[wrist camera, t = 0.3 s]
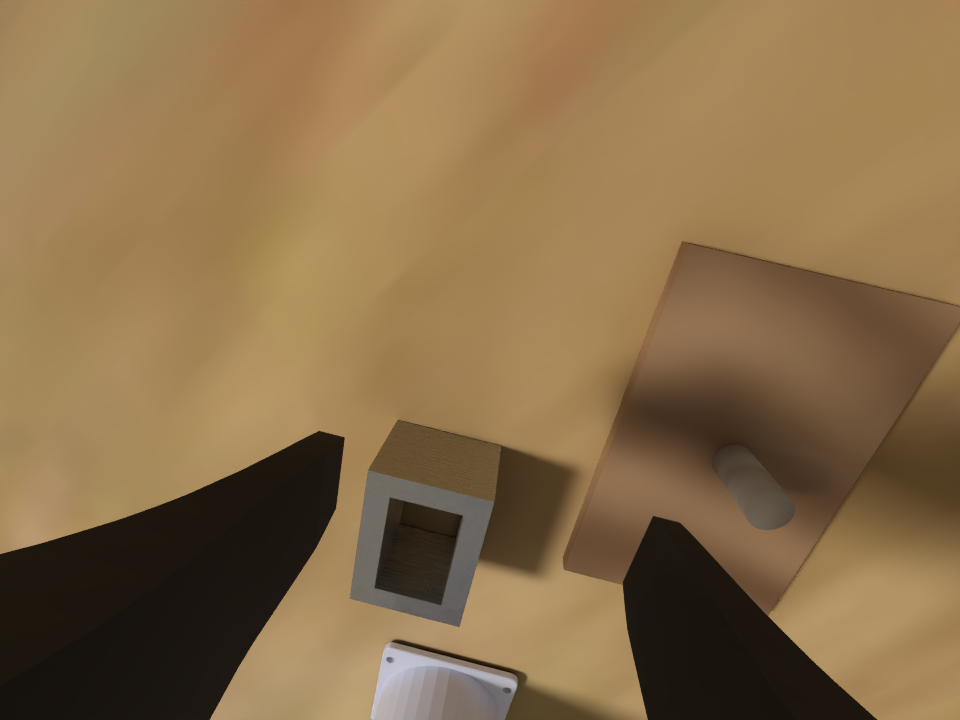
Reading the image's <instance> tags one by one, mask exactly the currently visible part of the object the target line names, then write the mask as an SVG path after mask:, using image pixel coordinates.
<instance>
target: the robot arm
mask: <svg viewBox="0 0 960 720" xmlns="http://www.w3.org/2000/svg"><path fill="white" fill-rule="evenodd" d="M344 439H345V437H341V436H337V435H333V434H329V433H325V432H321V431H318V432H316V433H314V434H312V435H310V436H308V437H306V438H304V439H302V440H300V441H298V442H296V443H294V444H292V445H291V446H289V447H287V448H285V449H283V450H281V451H279V452H277V453H275V454H273V455H271V456H269V457H267V458H265V459H263V460H261V461H259V462H257V463H255V464H253V465H251V466H249V467H247V468H245V469H243V470H241V471H239V472H237V473H234V474H232V475H230V476H228V477H225V478H223V479H221V480H219V481H216V482H214V483H212V484H210V485H207V486H205V487H203V488H201V489H199V490H196V491H194V492H192V493H189V494H187V495H185V496H182V497H180V498H177V499H175V500H172V501H169V502H167V503H164V504H162V505H159V506H156V507H154V508H151V509H148V510H145V511H142V512H140V513H137V514H134V515H131V516H129V517H126V518H123V519H120V520H117V521H114V522H111V523H107V524H104V525H101V526H97V527H94V528H91V529H88V530H84V531H81V532H78V533H74V534H71V535H68V536H65V537H61V538H58V539H55V540H51V541H48V542H45V543H41V544H37V545H34V546H30V547H26V548H22V549H18V550H15V551H11V552H7V553H3V554H0V720H210V718H211V716H212V714H213V713H214V711H215V709H216V707H217V705H218V703H219V702H220V700H221V698H222V696H223V694H224V692H225V691H226V689H227V687H228V685H229V683H230V682H231V680H232V678H233V676H234V674H235V672H236V671H237V669H238V667H239V665H240V664H241V662H242V660H243V659H244V657H245V655H246V654H247V652H248V651H249V649H250V647H251V646H252V644H253V642H254V641H255V639H256V638H257V636H258V635H259V633H260V632H261V630H262V629H263V627H264V626H265V624H266V623H267V621H268V620H269V618H270V617H271V615H272V614H273V612H274V611H275V609H276V608H277V606H278V605H279V603H280V602H281V600H282V599H283V597H284V596H285V594H286V593H287V591H288V590H289V588H290V587H291V585H292V584H293V582H294V581H295V579H296V578H297V576H298V575H299V573H300V572H301V570H302V569H303V567H304V566H305V564H306V563H307V561H308V559H309V558H310V556H311V555H312V553H313V552H314V550H315V549H316V547H317V545H318V543H319V541H320V539H321V537H322V535H323V533H324V531H325V529H326V527H327V525H328V523H329V521H330V519H331V517H332V515H333V513H334V511H335V509H336V504H337V496H338V488H339V480H340V472H341V463H342V455H343V447H344ZM623 591H624V603H625V612H626V621H627V629H628V634H629V639H630V643H631V648H632V652H633V657H634V661H635V666H636V670H637V675H638V679H639V683H640V688H641V692H642V696H643V701H644V705H645V709H646V714H647V718H648V720H877V719H876V718H875V717H873V716H872V715H871V714H870V713H869V712H868V711H867V710H866V709H865V708H863V707H862V706H861V705H860V704H859V703H858V702H857V701H856V700H855V699H853V698H852V697H851V696H850V695H849V694H848V693H847V692H846V691H845V690H843V689H842V688H841V687H840V686H839V685H838V684H837V683H836V682H835V681H833V680H832V679H831V678H830V677H829V676H828V675H827V674H826V673H825V672H824V671H823V670H822V669H821V668H820V667H818V666H817V665H816V664H815V663H814V662H813V661H812V660H811V659H810V658H809V657H808V656H807V655H806V654H805V653H804V652H803V651H802V650H801V649H800V648H799V647H798V646H797V645H796V644H795V643H794V642H793V641H792V640H791V639H790V638H789V637H788V636H787V635H786V634H785V633H784V632H783V631H782V630H781V629H780V628H779V627H778V626H777V625H776V624H775V623H774V622H773V621H772V620H771V619H770V618H769V617H768V616H767V615H766V614H765V613H764V612H763V610H762V609H761V608H760V607H759V606H758V605H757V604H756V603H755V602H754V601H753V600H752V599H751V598H750V597H749V596H748V595H747V593H746V592H745V591H744V590H743V589H742V588H741V587H740V586H739V585H738V584H737V583H736V582H735V580H734V579H733V578H732V577H731V576H730V575H729V574H728V573H727V572H726V571H725V570H724V568H723V567H722V566H721V565H720V564H719V563H718V562H717V561H716V560H715V559H714V558H713V556H712V555H711V554H710V553H709V552H708V551H707V550H706V549H705V548H704V547H703V546H702V545H701V543H700V542H699V541H698V540H697V539H696V538H695V537H694V536H693V535H692V534H691V533H690V532H689V531H688V530H687V529H686V528H685V527H684V526H683V525H682V524H681V523H680V522H676V521H672V520H668V519H664V518H660V517H656V516H653V517H652V519H651V521H650V524H649V526H648V528H647V530H646V532H645V534H644V537H643V539H642V541H641V543H640V545H639V548H638V550H637V552H636V554H635V556H634V559H633V561H632V563H631V565H630V567H629V569H628V572H627V574H626V576H625V578H624V580H623ZM517 686H518V678H517V676H515V675H514V674H512V673H509V672H505V671H501V670H497V669H494V668H490V667H486V666H482V665H478V664H474V663H471V662H467V661H463V660H459V659H455V658H451V657H448V656H444V655H440V654H436V653H432V652H428V651H425V650H421V649H417V648H413V647H409V646H405V645H402V644H398V643H393V642H391V643H388V644H386V646H385V648H384V651H383V656H382V662H381V667H380V672H379V677H378V682H377V687H376V692H375V697H374V703H373V708H372V713H371V718H370V720H505V718H506V715H507V713H508V710H509V707H510V705H511V702H512V700H513V697H514V694H515V692H516V689H517Z"/></svg>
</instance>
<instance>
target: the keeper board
mask: <svg viewBox="0 0 960 720" xmlns="http://www.w3.org/2000/svg"><path fill="white" fill-rule="evenodd" d="M959 323H960V306H956V305H952V304H948V303H944V302H940V301H936V300H931V299H927V298H923V297H918V296H914V295H910V294H906V293H901V292H897V291H893V290H888V289H884V288H880V287H875V286H871V285H867V284H863V283H858V282H854V281H850V280H845V279H841V278H837V277H832V276H828V275H824V274H820V273H815V272H811V271H807V270H802V269H798V268H794V267H790V266H785V265H781V264H777V263H772V262H768V261H764V260H759V259H755V258H751V257H747V256H742V255H738V254H734V253H729V252H725V251H721V250H717V249H712V248H708V247H704V246H699V245H695V244H691V243H686V242H682V243H681V246H680V248H679V251H678V254H677V256H676V259H675V262H674V264H673V267H672V270H671V272H670V275H669V278H668V280H667V283H666V286H665V288H664V291H663V293H662V296H661V299H660V301H659V304H658V307H657V309H656V312H655V315H654V317H653V320H652V323H651V325H650V328H649V331H648V333H647V336H646V338H645V341H644V344H643V346H642V349H641V352H640V354H639V357H638V360H637V362H636V365H635V368H634V370H633V373H632V376H631V378H630V381H629V384H628V386H627V389H626V391H625V394H624V397H623V399H622V402H621V405H620V407H619V410H618V413H617V415H616V418H615V421H614V423H613V426H612V429H611V431H610V434H609V436H608V439H607V442H606V444H605V447H604V450H603V452H602V455H601V458H600V460H599V463H598V466H597V468H596V471H595V474H594V476H593V479H592V482H591V484H590V487H589V489H588V492H587V495H586V497H585V500H584V503H583V505H582V508H581V511H580V513H579V516H578V519H577V521H576V524H575V527H574V529H573V532H572V534H571V537H570V540H569V542H568V545H567V548H566V550H565V553H564V556H563V565H564V570H567V571H571V572H574V573H578V574H582V575H586V576H590V577H594V578H598V579H602V580H606V581H610V582H614V583H618V584H622V585H623V580H624V578H625V576H626V574H627V572H628V569H629V567H630V565H631V563H632V561H633V559H634V556H635V554H636V552H637V550H638V548H639V545H640V543H641V541H642V539H643V537H644V534H645V532H646V530H647V528H648V526H649V524H650V521H651V519H652V517H653V516H656V517H660V518H664V519H668V520H672V521H676V522H680V523H681V524H682V525H683V526H684V527H685V528H686V529H687V530H688V531H689V532H690V533H691V534H692V535H693V536H694V537H695V538H696V539H697V540H698V541H699V542H700V543H701V545H702V546H703V547H704V548H705V549H706V550H707V551H708V552H709V553H710V554H711V555H712V556H713V558H714V559H715V560H716V561H717V562H718V563H719V564H720V565H721V566H722V567H723V568H724V570H725V571H726V572H727V573H728V574H729V575H730V576H731V577H732V578H733V579H734V580H735V582H736V583H737V584H738V585H739V586H740V587H741V588H742V589H743V590H744V591H745V592H746V593H747V595H748V596H749V597H750V598H751V599H752V600H753V601H754V602H755V603H756V604H757V605H758V606H759V607H760V608H761V609H762V610H763V612H764V613H765V614H766V615H767V616H768V615H769V614H770V612H771V611H772V609H773V608H774V606H775V604H776V603H777V601H778V600H779V598H780V597H781V595H782V594H783V592H784V591H785V589H786V588H787V586H788V585H789V583H790V582H791V580H792V578H793V577H794V575H795V574H796V572H797V571H798V569H799V568H800V566H801V565H802V563H803V562H804V560H805V559H806V557H807V555H808V554H809V552H810V551H811V549H812V548H813V546H814V545H815V543H816V542H817V540H818V539H819V537H820V536H821V534H822V533H823V531H824V529H825V528H826V526H827V525H828V523H829V522H830V520H831V519H832V517H833V516H834V514H835V513H836V511H837V510H838V508H839V507H840V505H841V503H842V502H843V500H844V499H845V497H846V496H847V494H848V493H849V491H850V490H851V488H852V487H853V485H854V484H855V482H856V481H857V479H858V477H859V476H860V474H861V473H862V471H863V470H864V468H865V467H866V465H867V464H868V462H869V461H870V459H871V458H872V456H873V454H874V453H875V451H876V450H877V448H878V447H879V445H880V444H881V442H882V441H883V439H884V438H885V436H886V435H887V433H888V432H889V430H890V428H891V427H892V425H893V424H894V422H895V421H896V419H897V418H898V416H899V415H900V413H901V412H902V410H903V409H904V407H905V406H906V404H907V402H908V401H909V399H910V398H911V396H912V395H913V393H914V392H915V390H916V389H917V387H918V386H919V384H920V383H921V381H922V380H923V378H924V376H925V375H926V373H927V372H928V370H929V369H930V367H931V366H932V364H933V363H934V361H935V360H936V358H937V357H938V355H939V353H940V352H941V350H942V349H943V347H944V346H945V344H946V343H947V341H948V340H949V338H950V337H951V335H952V334H953V332H954V331H955V329H956V327H957V326H958V324H959Z"/></svg>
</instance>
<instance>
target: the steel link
mask: <svg viewBox="0 0 960 720" xmlns="http://www.w3.org/2000/svg"><path fill="white" fill-rule="evenodd" d="M500 453H501V446H500V445H496V444H492V443H488V442H484V441H480V440H476V439H472V438H467V437H463V436H459V435H455V434H451V433H447V432H443V431H439V430H435V429H431V428H427V427H423V426H419V425H415V424H411V423H407V422H403V421H399V420H397V422H396V424H395V425H394V427H393V429H392V430H391V432H390V434H389V436H388V437H387V439H386V441H385V442H384V444H383V446H382V447H381V449H380V451H379V453H378V454H377V456H376V458H375V459H374V461H373V463H372V464H371V466H370V468H369V470H368V474H367V481H366V488H365V495H364V502H363V509H362V516H361V523H360V530H359V537H358V544H357V551H356V558H355V565H354V572H353V579H352V586H351V593H350V599H353V600H357V601H361V602H365V603H369V604H372V605H376V606H380V607H384V608H388V609H392V610H396V611H399V612H403V613H407V614H411V615H415V616H419V617H423V618H427V619H430V620H434V621H438V622H442V623H446V624H450V625H454V626H457V627H459V626H460V623H461V619H462V615H463V612H464V608H465V605H466V601H467V598H468V594H469V591H470V587H471V584H472V580H473V576H474V573H475V569H476V566H477V562H478V559H479V555H480V552H481V548H482V545H483V541H484V538H485V534H486V530H487V527H488V523H489V520H490V516H491V513H492V509H493V506H494V502H495V494H496V486H497V478H498V470H499V462H500ZM404 501H407V502H411V503H415V504H419V505H423V506H427V507H431V508H435V509H439V510H443V511H446V512H450V513H454V514H458V515H462V517H461V521H460V525H459V529H458V533H457V536H456V538H454V537H450V536H446V535H442V534H438V533H434V532H430V531H426V530H422V529H419V528H415V527H411V526H407V525H403V524H400V521H401V515H402V510H403V504H404Z"/></svg>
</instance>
